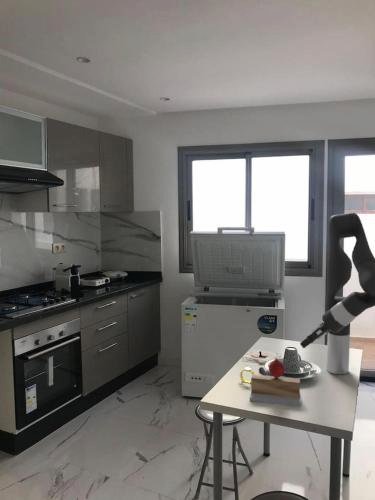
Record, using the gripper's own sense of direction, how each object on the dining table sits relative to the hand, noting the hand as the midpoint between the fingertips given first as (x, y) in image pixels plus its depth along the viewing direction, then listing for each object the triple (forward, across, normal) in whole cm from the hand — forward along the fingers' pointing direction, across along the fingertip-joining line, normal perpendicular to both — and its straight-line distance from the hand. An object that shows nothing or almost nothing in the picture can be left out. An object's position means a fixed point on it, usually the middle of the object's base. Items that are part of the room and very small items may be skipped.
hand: (306, 342), depth 155 cm
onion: (+20, 0, +4) cm, 20 cm away
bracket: (+32, -16, +2) cm, 36 cm away
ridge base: (+25, 0, +8) cm, 26 cm away
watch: (+36, -6, -2) cm, 36 cm away
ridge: (+24, 0, +7) cm, 25 cm away
